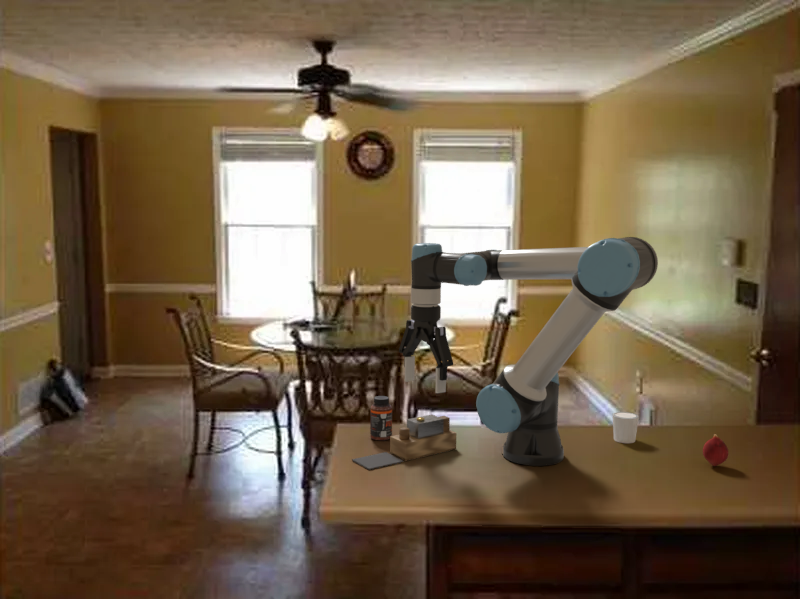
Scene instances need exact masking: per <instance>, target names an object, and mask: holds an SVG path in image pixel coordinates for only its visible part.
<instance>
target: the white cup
mask: <svg viewBox="0 0 800 599" xmlns="http://www.w3.org/2000/svg"><path fill="white" fill-rule="evenodd" d="M639 420H640V419H639V415H638V414H637V413H634V412H633V413H632V412H627V411H617V412H613V413H612V430H613V440H614V441H615V442H616V443H620V444H621V443H622V444H633V443H635V442H636V439H637V431H638V424H639Z"/></svg>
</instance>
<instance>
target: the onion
mask: <svg viewBox="0 0 800 599" xmlns="http://www.w3.org/2000/svg"><path fill="white" fill-rule="evenodd" d="M702 447H703V448H702V455H703V458H705V460H706V461H707V462H708V463H709V464H710V465H711V466H712V467H717V466H719V465H721V464H724V462H726V461H727V459H728V458H729V449H728V447H727V444H725V442H724V441H723V439H721V438H720V437H719V436H718V435H717V434H715V433H714V434H713V437H712V438H710V439H708V440H707V441H706V442H705V443H704V445H703V446H702Z"/></svg>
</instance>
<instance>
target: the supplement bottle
mask: <svg viewBox="0 0 800 599" xmlns="http://www.w3.org/2000/svg"><path fill="white" fill-rule="evenodd" d="M389 398H390V397H388V396H385V395H378V396H377V395H376V396H374V398H373V404H371V406H370V411H369V412H370V420H369V421H370V428H369V430H370V432H369V433H370V436H369V437H370V438H371V439H372V440H374V441H387V440H390V436H393V407H392V405H391V404H390V403H389V402H390V400H389Z"/></svg>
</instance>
